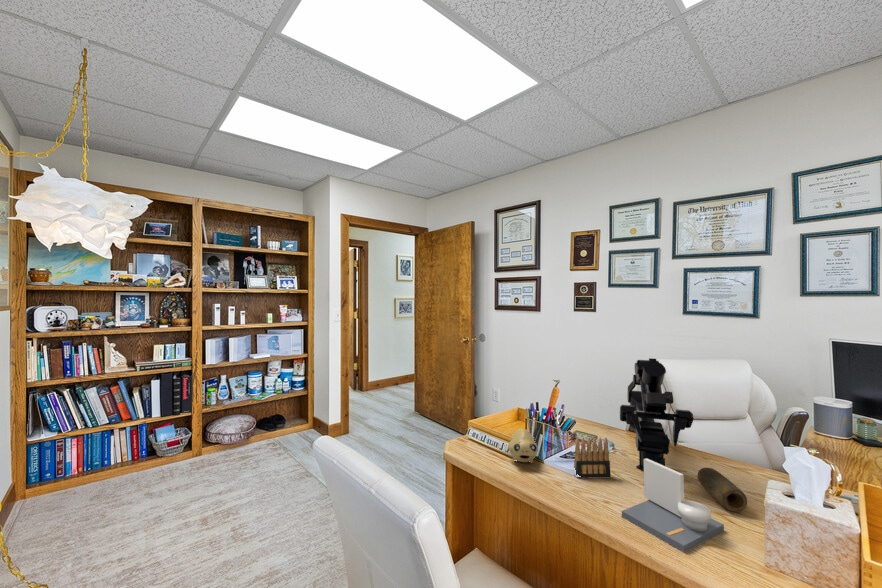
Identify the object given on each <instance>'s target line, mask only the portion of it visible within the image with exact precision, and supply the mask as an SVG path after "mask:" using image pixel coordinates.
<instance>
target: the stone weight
mask: <svg viewBox="0 0 882 588" xmlns="http://www.w3.org/2000/svg"><path fill="white" fill-rule="evenodd" d="M697 479H698V482H699V484H700V485H701V486H702V488H704V490H705V491H706V492H707V493H708V495H710V496H711V497H712V498H713V499H714V500H715V501H716V502H717V503H718V504H720V505H721V506H722V507H724V508H725V509H726V510H728V511H731V512H735V513H738V512H742V511H743V510H744V509H745V508H746V507H747V504H748V499H747V496H746V494H745V492H744V491H742V490H741V489H740V488H739V487H738V485H736V484H734V483H733V482H732V481H731V480H730V479H728V478H727V477H726V476H724V475H723V474H722V473H720V472H719V470H716V469H714V468H712V467H703V468H700V469H699V470H698V472H697Z"/></svg>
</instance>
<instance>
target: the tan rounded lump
mask: <svg viewBox="0 0 882 588" xmlns="http://www.w3.org/2000/svg"><path fill="white" fill-rule="evenodd" d="M511 436H512V437H513V439H512V440H511V441H510V442H509V441H508V443H509V444H508V443H507V444H508V445H507V448H508V451H509V453H510V455H511V456H512V458H513V459H514V460H517V461H518V462H521V463H529V461H530V462H533V463H534V459H535V458H536V456H537V454H538V452H539V447H538V444H537V442H536V440H535V438H534V436H533V435H532V434H531V433H530V431H529V430H528V429H525V428H518V429H516V430H515V431H514V432H513V433H512V435H511ZM532 436H533V437H532ZM533 438H534V439H533ZM534 440H535V441H534ZM535 442H536V443H535ZM536 444H537V445H536ZM514 460H513V461H514Z"/></svg>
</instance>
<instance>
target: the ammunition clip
mask: <svg viewBox="0 0 882 588" xmlns="http://www.w3.org/2000/svg"><path fill="white" fill-rule="evenodd" d="M585 440H586V439H585V437H582V439H581V443H580V439H579V437H576V439H575V449H574V464H573V465H574V466H573V469H574V468H575V470H576V475H577V474H578V475H579V476H581V477H610V478H611V477H612V475H611V461H610V450H609V442H608V438H607V437H604V441H603V440H602V437H599V438H598V442H597V439H596V437H594V438H593V440H591V438H590V437H587V441H585ZM591 441H592V442H591ZM586 442H587V443H586ZM597 443H598V445H597ZM580 445H581V446H580Z"/></svg>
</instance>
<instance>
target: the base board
mask: <svg viewBox="0 0 882 588" xmlns="http://www.w3.org/2000/svg"><path fill="white" fill-rule="evenodd" d="M621 518H623V519H624V520H627V521H628V522H630V523H632V524H633V525H635V526H637V527H638V528H640V529H642V530H644V531H646V532H647V533H649V534H651V535H653V536H654V537H656V538H658V539H659V540H661V541H663V542H665V543H666V544H668V545H670V546H672V547H673V548H675V549H677V550H678V551H680V552H682V553H686V552H688V551H690V550H692V549H693V548H695V547H697V546H699V545H701V544H703V543H704V542H705V543H706V541H708V540H710V539H711V538H713V537H714V538H715V536H717V535H720V534H721V533H722V532H725V524H724V523H721V522H720V521H718V520H715V519H713V518H711V521H710V522H709V523H696V522H692V521H690V520H687V519H685V518H684V517H680V516H678V515H676V514H674V513H673V512H671V511H669V510H667V509H665V508H663V507H662V506H660V505H658V504H656V503H654V502H653V501H651V500H649V499H647V500H646V501H643V502H641V503H640V502H639V503H638V504H635V505H633V506H631V507H628V508H626V509H624V510H621Z"/></svg>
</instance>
